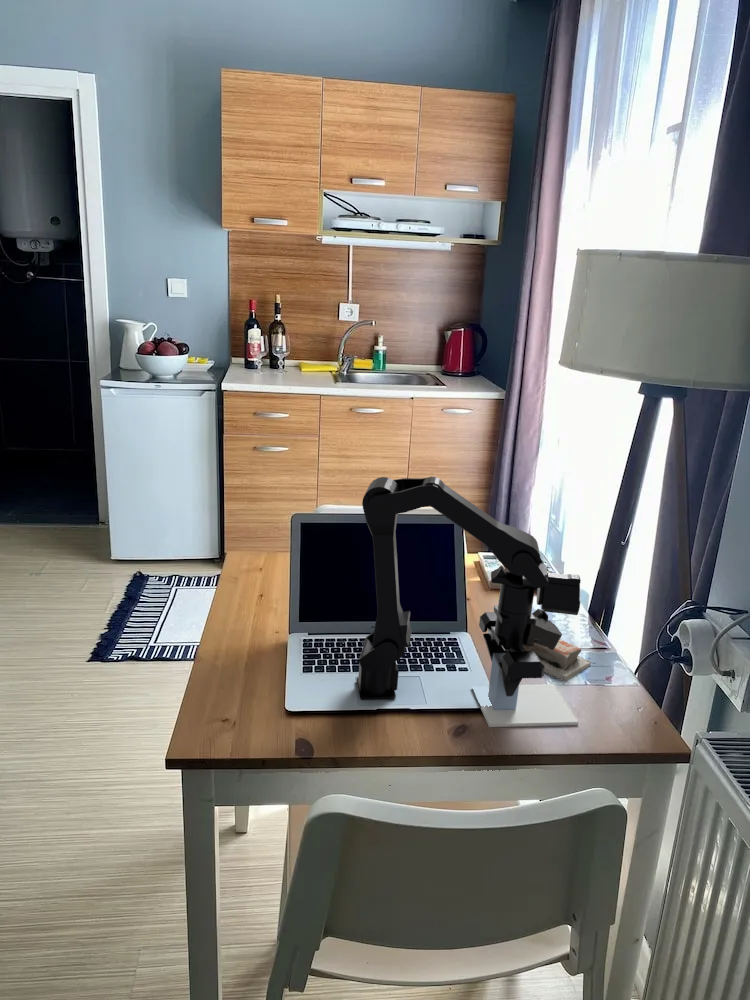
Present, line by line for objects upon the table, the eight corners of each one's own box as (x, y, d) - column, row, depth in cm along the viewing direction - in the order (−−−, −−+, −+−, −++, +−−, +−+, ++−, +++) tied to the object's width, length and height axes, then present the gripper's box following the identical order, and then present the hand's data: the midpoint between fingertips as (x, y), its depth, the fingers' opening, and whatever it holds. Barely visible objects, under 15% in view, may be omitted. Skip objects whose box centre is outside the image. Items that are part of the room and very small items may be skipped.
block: (493, 709, 134) (499, 664, 132) (487, 697, 138) (493, 652, 135) (515, 709, 135) (521, 664, 132) (509, 697, 139) (514, 652, 136)
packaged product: (491, 626, 156) (519, 612, 163) (488, 647, 158) (516, 633, 165) (568, 661, 145) (594, 645, 152) (564, 684, 146) (590, 667, 153)
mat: (488, 727, 130) (489, 724, 130) (471, 688, 142) (471, 685, 142) (577, 724, 133) (578, 721, 133) (553, 687, 144) (554, 684, 144)
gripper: (580, 632, 123) (566, 716, 128) (541, 583, 140) (530, 658, 145) (514, 633, 121) (502, 717, 126) (483, 583, 139) (473, 659, 144)
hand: (504, 686), depth 135 cm, fingers open, 6 cm apart
